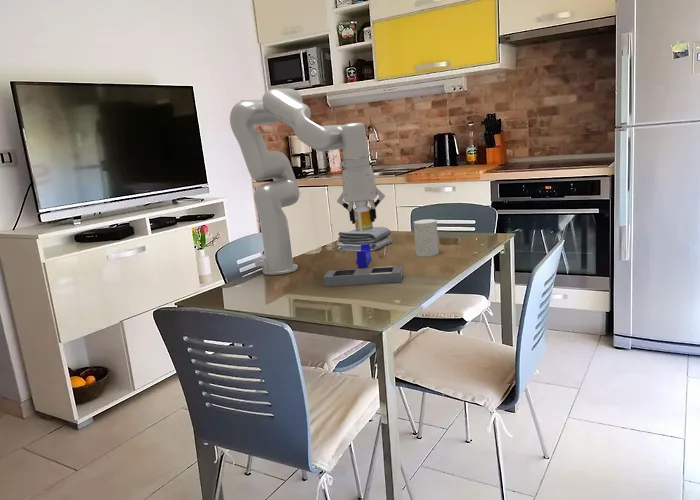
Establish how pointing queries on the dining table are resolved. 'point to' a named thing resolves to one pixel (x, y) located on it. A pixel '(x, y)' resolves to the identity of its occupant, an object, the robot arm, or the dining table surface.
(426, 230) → the cup
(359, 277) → the metal bottle holder tray
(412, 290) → the dining table surface
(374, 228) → the towel
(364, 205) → the supplement bottle
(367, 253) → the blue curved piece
